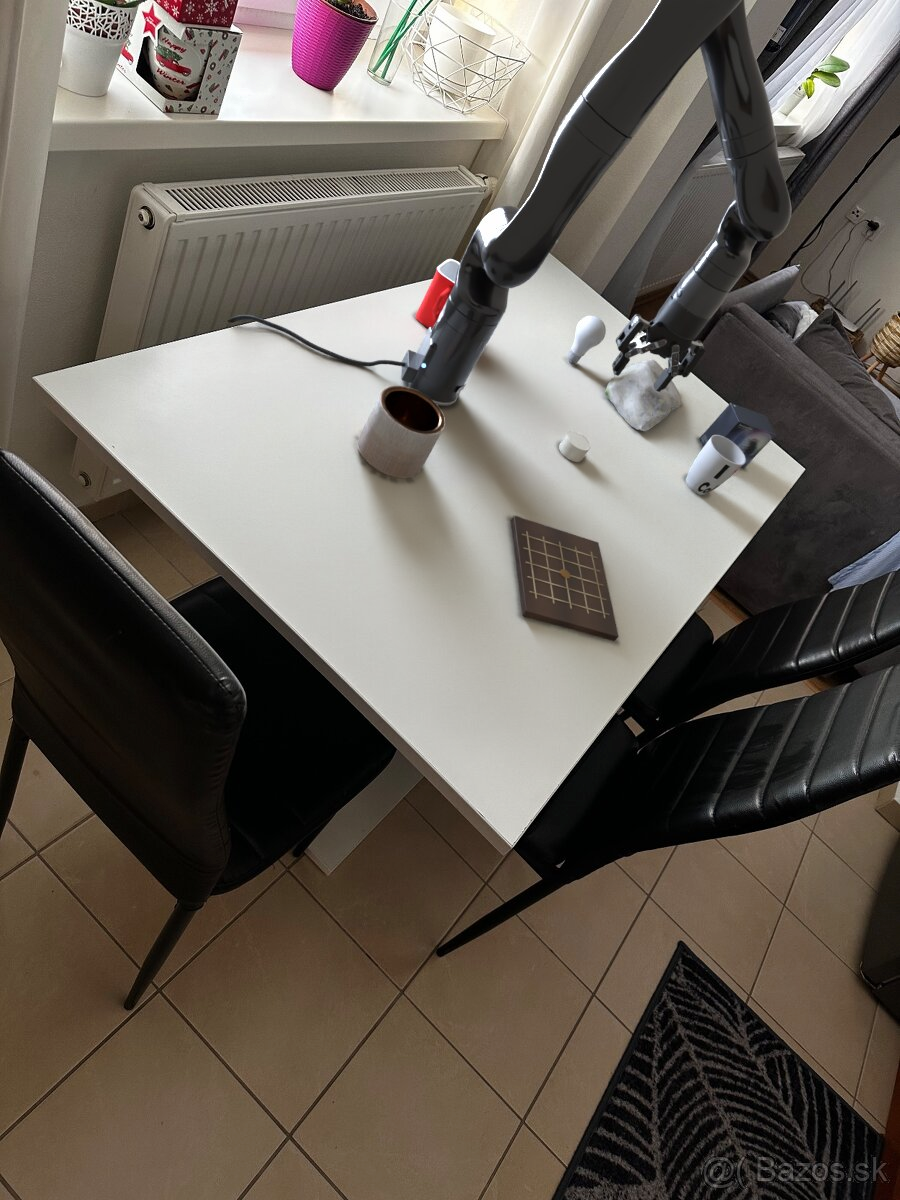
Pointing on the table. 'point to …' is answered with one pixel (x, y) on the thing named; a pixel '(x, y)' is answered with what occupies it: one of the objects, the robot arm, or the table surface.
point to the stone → (642, 395)
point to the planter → (401, 431)
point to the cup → (714, 465)
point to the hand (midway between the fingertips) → (635, 380)
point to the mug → (437, 293)
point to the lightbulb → (586, 337)
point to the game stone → (574, 446)
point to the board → (562, 579)
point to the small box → (742, 430)
